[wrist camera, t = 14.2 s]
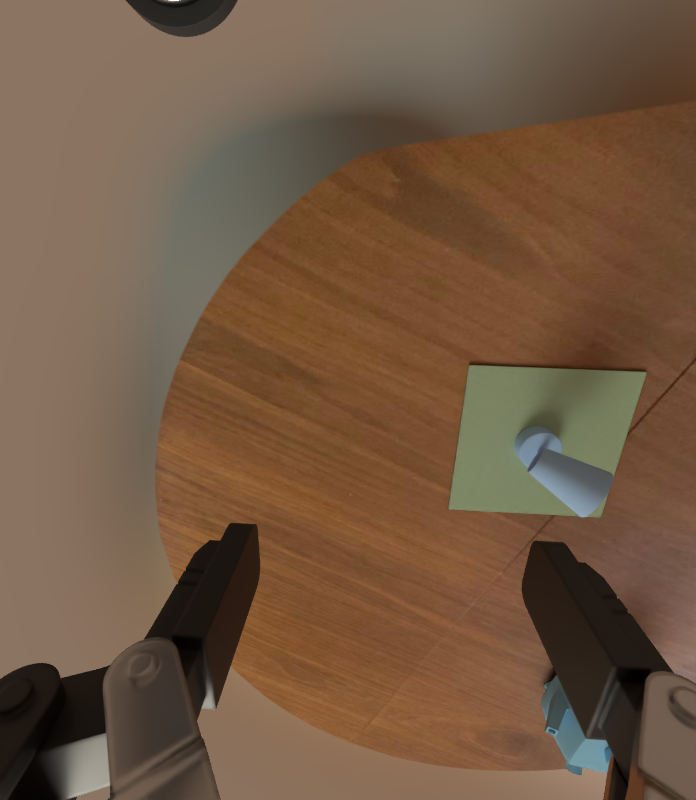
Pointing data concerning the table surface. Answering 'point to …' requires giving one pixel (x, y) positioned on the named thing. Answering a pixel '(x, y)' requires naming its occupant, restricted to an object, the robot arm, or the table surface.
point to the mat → (537, 406)
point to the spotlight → (562, 471)
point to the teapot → (572, 733)
